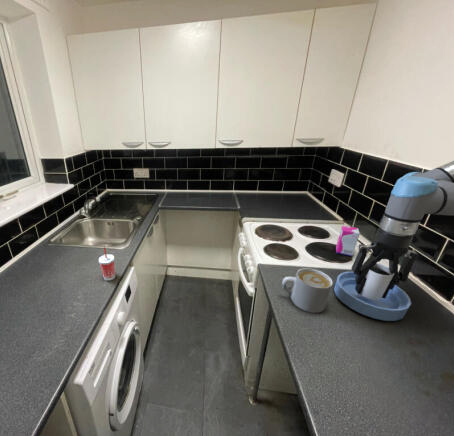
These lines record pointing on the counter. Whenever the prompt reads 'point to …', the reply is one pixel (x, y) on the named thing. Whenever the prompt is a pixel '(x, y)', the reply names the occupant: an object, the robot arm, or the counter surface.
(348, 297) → the bowl
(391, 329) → the counter surface
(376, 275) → the white cup
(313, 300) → the coffee mug
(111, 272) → the beverage cup
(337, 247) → the supplement box
